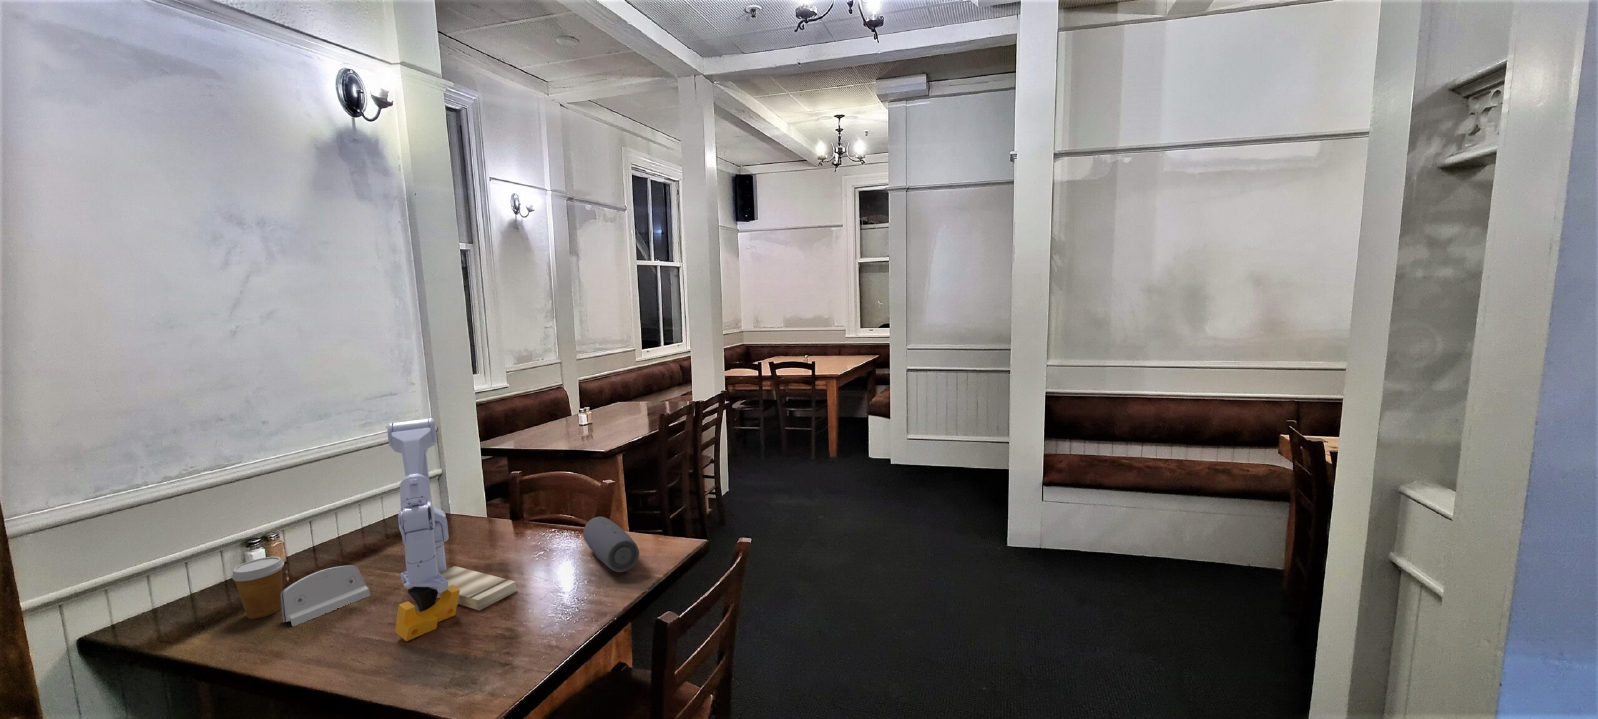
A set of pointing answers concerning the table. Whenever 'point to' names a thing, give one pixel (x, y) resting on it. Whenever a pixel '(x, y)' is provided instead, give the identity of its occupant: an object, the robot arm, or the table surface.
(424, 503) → the robot arm
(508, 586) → the maple board
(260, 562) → the disposable coffee cup
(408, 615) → the pipe clamp
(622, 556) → the bluetooth speaker
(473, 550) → the table surface
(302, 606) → the gray arched bracket
